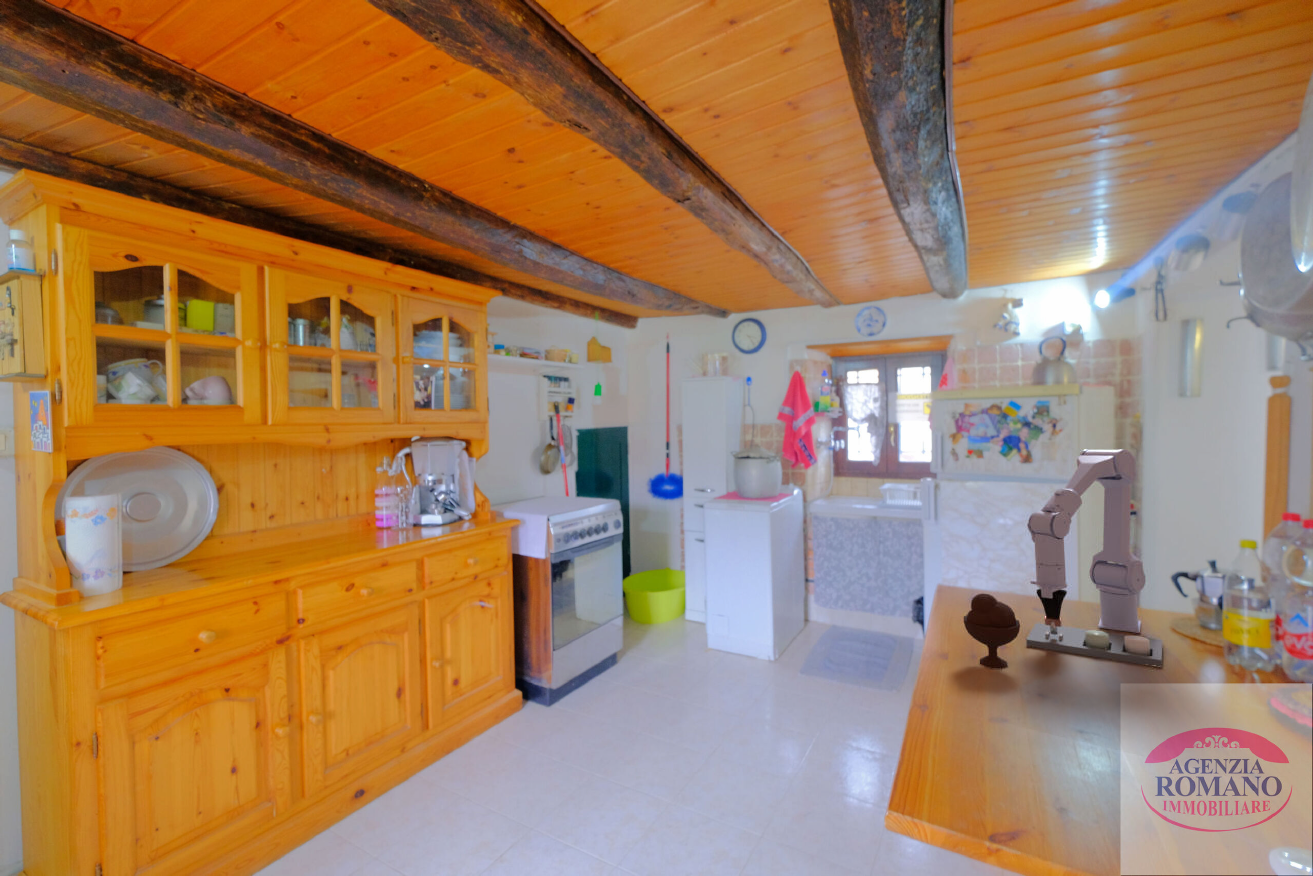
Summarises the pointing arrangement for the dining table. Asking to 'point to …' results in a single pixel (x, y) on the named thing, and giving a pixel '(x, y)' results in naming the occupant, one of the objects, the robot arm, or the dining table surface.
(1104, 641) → the sage button
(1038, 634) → the panel
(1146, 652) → the pinkish beige button
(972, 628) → the ice cream bowl
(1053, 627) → the toggle lever
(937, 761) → the dining table surface
